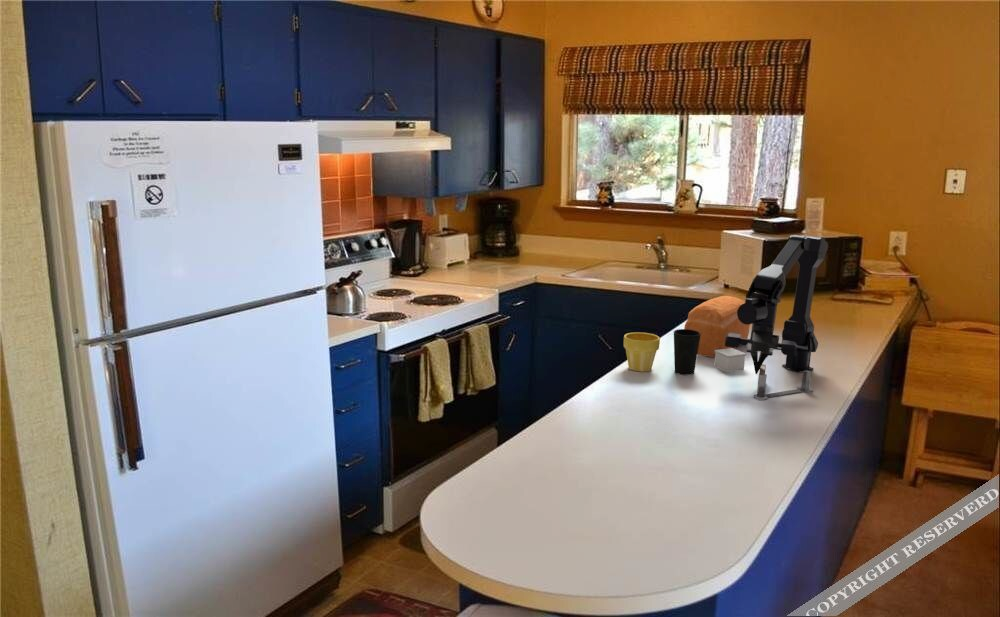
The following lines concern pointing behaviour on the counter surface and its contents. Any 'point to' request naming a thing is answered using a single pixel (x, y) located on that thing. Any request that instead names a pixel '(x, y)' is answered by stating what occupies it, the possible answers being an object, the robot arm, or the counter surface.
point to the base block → (729, 359)
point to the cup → (685, 350)
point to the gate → (762, 368)
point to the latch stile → (805, 382)
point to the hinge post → (761, 387)
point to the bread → (716, 323)
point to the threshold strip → (783, 393)
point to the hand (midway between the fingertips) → (756, 373)
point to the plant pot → (641, 350)
